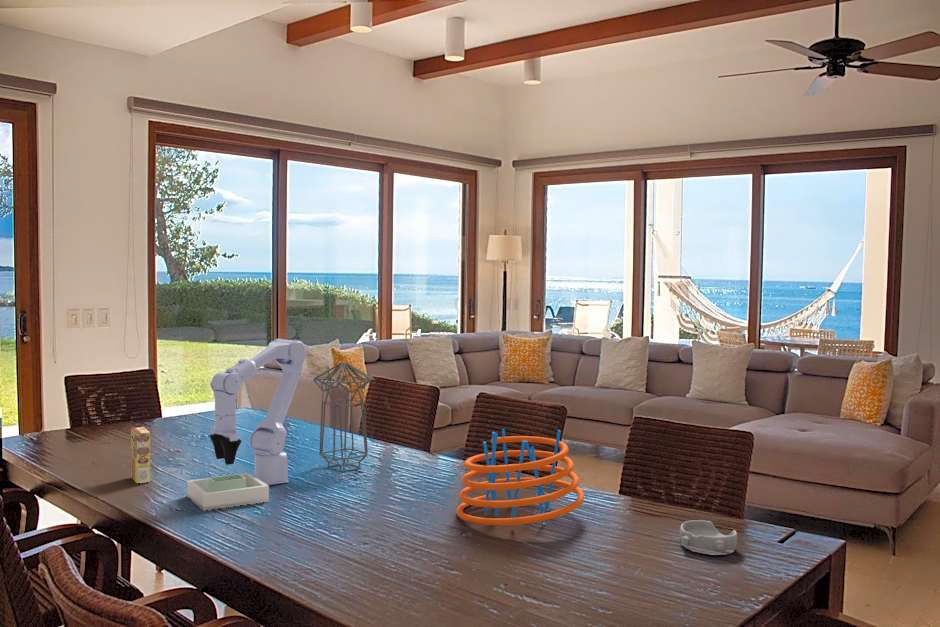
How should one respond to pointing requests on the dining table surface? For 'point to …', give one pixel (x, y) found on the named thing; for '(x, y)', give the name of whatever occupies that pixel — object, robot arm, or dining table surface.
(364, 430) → the geometric lantern
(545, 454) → the toy basket
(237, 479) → the green crate
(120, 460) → the dining table surface
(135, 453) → the candy box
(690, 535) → the dish
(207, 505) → the white crate
